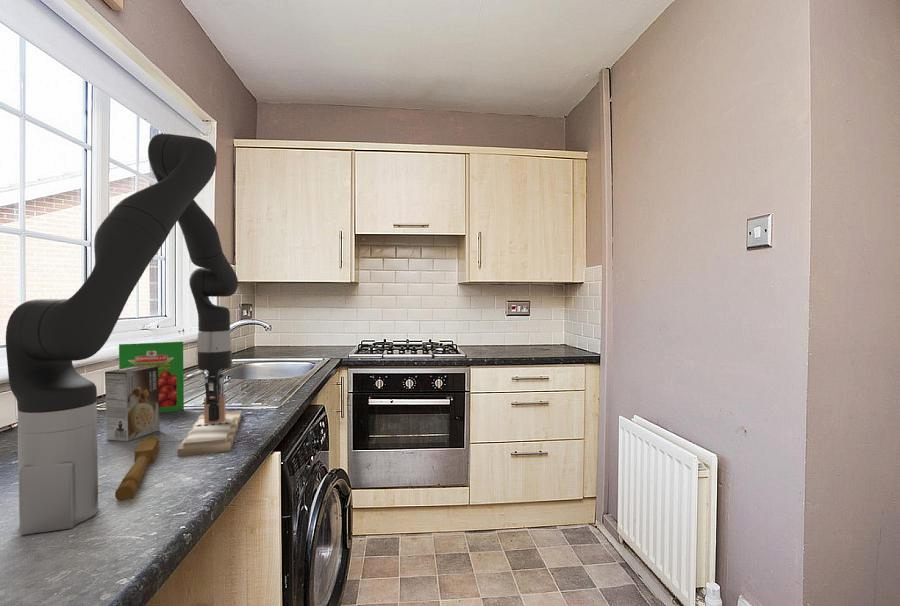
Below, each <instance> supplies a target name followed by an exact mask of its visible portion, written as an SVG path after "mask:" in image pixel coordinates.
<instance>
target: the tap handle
mask: <svg viewBox="0 0 900 606" xmlns="http://www.w3.org/2000/svg"><path fill="white" fill-rule="evenodd" d="M159 446H160V439H159V437H157V436H156V435H151V436H148V437H147V438H144V439H142V440H140V442H139V444H138V445H137V447H136V449H135V450H134V460H133V464H132V465H131V467H130V469H129V470H128V471H127V472H126V474H125V476H124V477H123V478H122V480H121V482H120V484H119V485H118V487H117V489H116V490H115V492H114V495H115V498H116V500H117V501H118V502H126V500H127V501H131V500H133V499H134V498H135V495H136V494H137V493H138V489H139V487H140V485H141V483H142V481H143V478H144V476H145V472H146V470H147V467H148V466H149V465H150V464H154V461H156V457H157V455H158V453H159V449H160V447H159ZM130 499H131V500H130Z"/></svg>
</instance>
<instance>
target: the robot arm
mask: <svg viewBox="0 0 900 606" xmlns="http://www.w3.org/2000/svg"><path fill="white" fill-rule="evenodd" d="M217 157H218V156H217V152H216V150H215V148H214V146H213V145H212V144H211V143H210V142H209V141H207V140H205V139H202V138H200V137H195V136H190V135H189V136H187V135H180V134H171V133H158V134H155V135H154V136H152V138H151V139H150V141H149V143H148V147H147V158H148V162H149V165H150V169H151V171H152V174H153V175H154V177H155V180H156V181H157V182H155V183H154V184H152V185H149V186H147V187H144V188H142V189H141V190H138V191H136V192H134V193H132V194H130V195H129V196H126V197H125V198H123V199H122V200H120V201H119V202H118V203H116V205H114V207H113V208H112V209H111V211H110V212H109V213H108V215H107V216H106V217H105V218H104V219H103V221H102V222H101V223H100V225H99V226H98V227H97V230H96V231H95V234H94V241H93V247H94V266H93V269H92V271H91V272H90V274H89V275H88V277H87V278H86V280H85V281H84V283H82V285H81V286H80V287H79V289H78V290H77V291H76V292H75V293H74V294H73V295H72V296H71V297H69V298H39V299H38V298H36V299H31V300H27V301H25V302H23V303H21V304H19V305H18V306H17V307H16V308H14V310H13V311H12V313H11V315H10V316H9V318H8V321H7V324H6V330H5V349H6V351H5V352H6V360H7V361H6V362H7V372H8V373H7V374H8V383H9V387H10V390H11V392H12V394H13V395H14V398H15V399H16V402H17V403H16V405H17V408H16V409H17V451H18V452H17V459H18V461H17V463H18V466H17V468H18V469H17V471H18V473H17V474H18V511H19V514H18V515H19V535H20V536H23V535H24V536H25V535H31V534H38V533H44V532H45V533H46V532H47V533H48V532H53V531H60V530H68V529H73V528H74V527H75V526H76V525H78V524H80V523H83V522H85V521H87V520H88V519H90V518H92V517H93V516H94V515H96V514H97V513H98V511H99V475H98V474H99V472H98V469H99V466H98V403H97V402H98V392H97V390H98V389H97V385H96V384H95V383H94V382H93V381H92V380H90V379H88V378H86V377H84V376H82V375H81V373H79V372H78V371H77V370H76V369H75V368H74V365H73V362H75V361H77V362H78V361H82V360H86V359H89V358H92V357H93V356H95V354H97V353H98V352H99V351H100V350H101V349H102V348H103V347H104V345H105V344H106V342H107V341H108V340H109V338H110V336H111V335H112V333H113V331H114V328H115V326H116V325H117V322H118V321H119V318H120V316H121V314H122V312H123V311H124V308H125V305H126V304H127V302H128V300H129V298H130V296H131V294H132V292H133V291H134V289H135V288H136V286H137V285H138V282H139V280H140V279H141V278H142V276H143V274H144V272H145V270H146V269H147V268H148V266H149V264H150V263H151V262H152V260H153V259H154V257H156V255H157V253H158V251H159V250H160V249H161V248H162V246H163V245H164V243H165V241H166V240H167V238H168V236H169V235H170V233H171V231H172V229H173V228H174V226H175V225H176V223H178V224H179V228H180V230H181V232H182V235H183V239H184V242H185V245H186V249H187V252H188V255H189V258H190V259H189V260H190V261H191V263H192V264H194V266H196V267H197V268H195V269H194V270H193V271H192V272H191V274H190V276H189V279H188V280H189V287H190V291H191V294H192V297H193V300H194V304H195V307H196V311H197V316H198V319H197V322H198V324H197V327H198V329H197V331H198V333H197V340H196V341H197V342H196V346H197V347H196V349H197V350H196V351H197V359H196V361H197V362H196V363H197V364H196V365H197V369H198V370H201V371H207V375H206V377H204V387H205V388H204V389H205V397H206V403H207V405H208V406H209V421H218V420H219V404H220V402H219V397H220V395H224V390H225V387H224V386H225V385H224V381H225V374H224V373H222V370H227V369H230V368H231V367H232V335H231V313H230V309H229V308H228V307H226V306H220V305H216V304H213V302H212V301H211V300H210V297H211V298H212V297H215V298H216V297H219V298H220V297H225V298H226V297H230V296H233V295H234V294H235V293H236V292H237V290H238V286H239V279H238V276H237V274H236V271H235V270H234V269H233V267H232V265H231V264H230V262H229V260H228V259H227V257H226V255H225V254H224V251H223V247H222V244H221V241H220V236H219V232H218V229H217V228H216V226H215V224H214V222H213V221H212V219H211V218H210V217H209V216H208V215H207V213H206V212H205V211H204V210H203V209H202V208H201V207H200V205H199V204H198V203H197V202H196V201H195V199H196V197H197V196H198V195H199V194H200V193H201V191H202V190H204V188H205V187H206V186H207V184H208V183H210V180H211V179H212V177H213V175H214V173H215V170H216V166H217ZM198 267H199V268H198ZM213 396H214V397H215V399H212V400H211V397H213Z"/></svg>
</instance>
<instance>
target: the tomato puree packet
mask: <svg viewBox="0 0 900 606" xmlns="http://www.w3.org/2000/svg"><path fill="white" fill-rule="evenodd" d="M134 366H158V384H159V414H160V413H169V412H177V411H184V410H185V408H184V407H185V401H184V397H185V396H184V395H185V394H184V393H185V391H184V389H185V388H184V383H185V382H184V341H169V342H168V341H167V342H165V341H164V342H163V341H162V342H145V343H141V342H140V343H120V344H119V345H118V369H123V368H128V367H134Z"/></svg>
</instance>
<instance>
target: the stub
mask: <svg viewBox="0 0 900 606" xmlns="http://www.w3.org/2000/svg"><path fill="white" fill-rule="evenodd" d="M212 399H215V397H214V396H213V397H211V400H212ZM226 399H227V398H226V394H223V395H220V397H219V402H220V404H219V420H218V421H209V406H208V405H207V403H206V396H204V398H203V414H204V419H199V420H198V421H197V420H196V421H197V423H196V424H195V423H194V424H195V426H197V425H205V424H208V425H211V424H214V423H215V424H218V423H222V424H225V423H226V422H229V423H232V424H233V422H234V416H232V417H226V412H227V411H226V405H227V404H226V402H227V401H226Z"/></svg>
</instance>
